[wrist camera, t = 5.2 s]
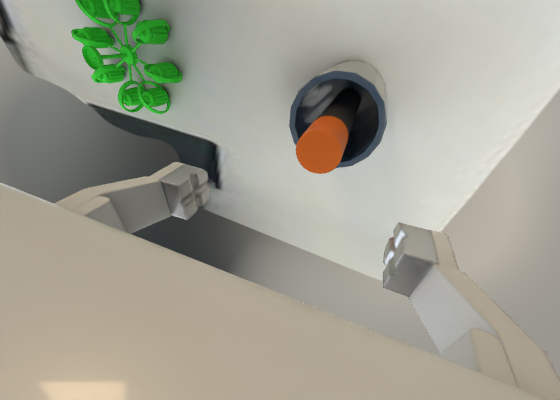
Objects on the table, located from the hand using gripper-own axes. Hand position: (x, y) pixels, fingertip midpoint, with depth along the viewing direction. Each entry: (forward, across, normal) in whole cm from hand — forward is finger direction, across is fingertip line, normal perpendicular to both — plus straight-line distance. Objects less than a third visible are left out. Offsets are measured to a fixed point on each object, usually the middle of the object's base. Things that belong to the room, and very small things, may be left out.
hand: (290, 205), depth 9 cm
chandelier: (+20, +28, -2) cm, 35 cm away
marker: (+19, 0, 0) cm, 19 cm away
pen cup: (+20, 0, 0) cm, 20 cm away
